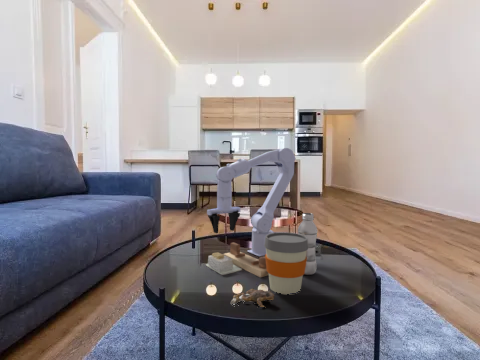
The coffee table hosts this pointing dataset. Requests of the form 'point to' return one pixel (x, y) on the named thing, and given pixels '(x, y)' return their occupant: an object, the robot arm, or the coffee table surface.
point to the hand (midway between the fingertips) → (224, 231)
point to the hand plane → (247, 261)
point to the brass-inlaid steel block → (220, 262)
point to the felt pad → (227, 271)
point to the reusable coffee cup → (285, 261)
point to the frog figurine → (253, 296)
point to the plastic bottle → (309, 241)
